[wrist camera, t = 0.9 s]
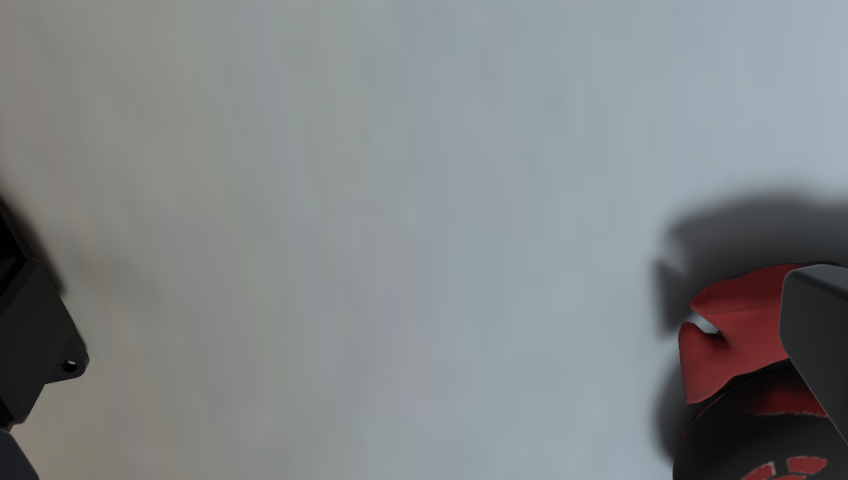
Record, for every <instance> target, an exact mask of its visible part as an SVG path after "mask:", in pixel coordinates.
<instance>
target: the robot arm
mask: <svg viewBox="0 0 848 480" xmlns="http://www.w3.org/2000/svg"><path fill="white" fill-rule="evenodd" d="M74 329H75V324H74V322H73V320H72V318H71V316H70V315H69V313H68V311H67V309H66V307H65V305H64V304H63V302H62V300H61V298H60V296H59V294H58V293H57V291H56V289H55V287H54V285H53V284H52V282H51V280H50V278H49V276H48V274H47V273H46V271H45V269H44V267H43V265H42V264H41V263H40V262H39V261H38V260H37V259H35V258H34V256H33V254H32V252H31V251H30V249H29V247H28V245H27V243H26V242H25V240H24V238H23V236H22V234H21V232H20V231H19V229H18V227H17V225H16V223H15V222H14V220H13V218H12V216H11V214H10V213H9V211H8V209H7V207H6V206H5V205H4V204H3V202H1V201H0V480H40V479H39V476H38V474H37V473H36V471H35V469H34V468H33V466H32V465H31V463H30V462H29V460H28V459H27V457H26V456H25V454H24V453H23V451H22V450H21V448H20V447H19V445H18V444H17V442H16V440H15V439H14V437H13V436H12V435H11V434H10V433H9V432H10V430H11V428H12V427H13V425H17V424H22V423H24V422H25V420H26V419H27V417H28V415H29V413H30V412H31V410H32V408H33V406H34V404H35V402H36V400H37V398H38V397H39V395H40V393H41V391H42V389H43V387H44V385H45V384H48V383H53V382H58V381H63V380H68V379H73V378H77V377H79V376H81V375H82V374H83V373H84V372H85V370H86V368H87V366H88V363H89V357H88V354H87V352H86V350H85V349H84V347H83V345H82V343H81V341H80V340H79V338H78V336H77V334H76V332H75V330H74ZM778 330H779V337H780V341H781V344H782V346H783V349H784V350H785V352H786V354H787V355H788V357H789V358H790V360H791V361H792V363H793V364H794V366H795V367H796V369H797V370H798V372H799V373H800V375H801V376H802V378H803V379H804V381H805V382H806V384H807V385H808V387H809V388H810V390H811V391H812V393H813V394H814V396H815V397H816V399H817V400H818V402H819V403H820V405H821V406H822V408H823V409H824V411H825V412H826V414H827V415H828V417H829V418H830V420H831V421H832V423H833V424H834V426H835V427H836V429H837V430H838V432H839V433H840V435H841V436H842V437H843V439H844V440H845V442H846V443H847V444H848V268H842V267H837V266H832V265H823V264H819V265H814V266H809V267H804V268H799V269H794V270H791V271H790V272H788V273H787V274H786V276H785V278H784V281H783V288H782V297H781V307H780V316H779V326H778ZM66 360H71V361H73V362H75V363H76V364H70V363H68V362H67V361H66Z"/></svg>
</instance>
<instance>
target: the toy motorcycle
mask: <svg viewBox="0 0 848 480" xmlns="http://www.w3.org/2000/svg"><path fill="white" fill-rule="evenodd" d="M819 264H823V265H832V266H837V267H842V266H841V265H840V264H838V263H836V262H832V261H818V262H807V263H789V264H782V265H775V266H769V267H765V268H761V269H758V270H755V271H752V272H750V273H747V274H745V275H743V276H740V277H738V278H735V279H729V280H723V281H720V282H716V283H713V284H711V285H709V286H707V287H705V288H704V289H703V290H702V291H700V292H699V293H698V294H697V295H696V296H694V297H693V298H692V300H691V301H690V303H688V304H689V306H690V307H691V309H692V310H693V311H695V312H697V313H699V314H700V315H701V316H702V317H704V318H705V319H706V320H707V321H709V322H710V323H711V324H713V325H714V326H715V327H717V328H718V329H719V331H718V333H717V334H715V333H704V332H703V331H702V330H701V329H700V328H699V327H698V326H697V325H695V324H694V323H691V322H688V321H687V322H684V323H682V325H681V327H680V330H679V333H678V342H679V350H680V363H681V371H682V378H683V383H684V389H685V396H686V404H691V403H697V402H701V401H703V400H705V399H706V398H709V397H710V396H712V395H713V394H714V393H716V392H717V391H718V390H719V389H721V388H722V387H723V386H724V385H725V384H726V383H727V382H728V381H729V380H730V379H731V378H732V377H733V376H736V375H740V374H746V373H750V372H753V371H755V370H758V369H761V368H763V367H765V366H767V365H769V364H771V363H775V362H778V361H781V360H784V359H787V358H789V357H788V355H787V354H786V352H785V350H784V349H783V346H782V344H781V341H780V337H779V330H778V326H779V316H780V307H781V297H782V288H783V281H784V278H785V276H786V274H787V273H788V272H790V271H791V270H794V269H799V268H804V267H809V266H814V265H819ZM842 268H843V267H842ZM673 480H848V444H847V443H846V442H845V440H844V439H843V437H842V436H841V435H840V433H839V432H838V430H837V429H836V427H835V426H834V424H833V423H832V421H831V420H830V418H829V417H828V415H827V414H826V412H825V411H824V409H823V408H822V406H821V405H820V403H819V402H818V400H817V399H816V397H815V396H814V394H813V393H812V391H811V390H810V388H809V387H808V385H807V384H806V382H805V381H804V379H803V378H802V376H801V375H800V373H799V372H798V370H783V371H776V372H772V373H767V374H764V375H760V376H757V377H754V378H752V379H749V380H747V381H745V382H743V383H741V384H739V385H737V386H735V387H733V388H731V389H730V390H728V391H726V392H725V393H723V394H722V395H720V396H719V397H717V398H716V399H715V400H713V401H712V402H711V403H710V404H708V405H707V406H706V407H705V408H704V409H703V410H702V411H701V412H700V413H699V414H698V415H697V416H696V417H695V419H694V420H693V421H692V423H691V424H690V425H689V427H688V428H687V430H686V431H685V433H684V435H683V437H682V439H681V441H680V444H679V446H678V449H677V453H676V457H675V461H674V466H673Z"/></svg>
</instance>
